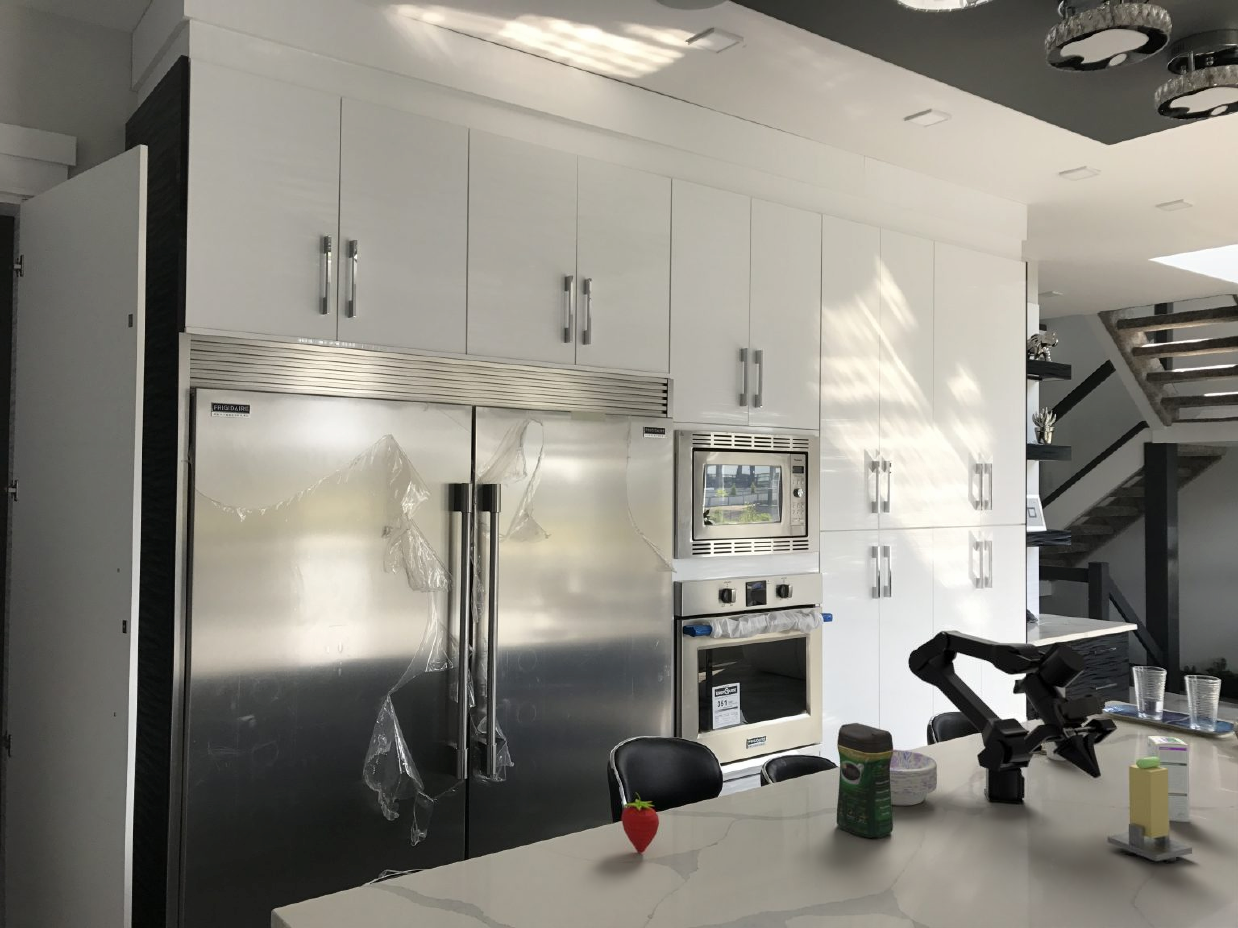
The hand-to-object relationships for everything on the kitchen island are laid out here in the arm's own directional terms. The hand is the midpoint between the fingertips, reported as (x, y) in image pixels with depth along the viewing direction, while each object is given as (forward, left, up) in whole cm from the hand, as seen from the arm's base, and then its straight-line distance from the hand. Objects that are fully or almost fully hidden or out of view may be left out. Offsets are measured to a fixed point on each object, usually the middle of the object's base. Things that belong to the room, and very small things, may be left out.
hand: (1097, 776), depth 171 cm
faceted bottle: (+5, +52, -10) cm, 53 cm away
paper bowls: (-34, +11, -10) cm, 37 cm away
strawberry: (-78, -30, -10) cm, 84 cm away
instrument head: (+6, -8, -6) cm, 12 cm away
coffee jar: (-41, -9, -10) cm, 43 cm away
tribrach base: (+6, -8, -10) cm, 14 cm away
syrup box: (+16, +14, -10) cm, 24 cm away
